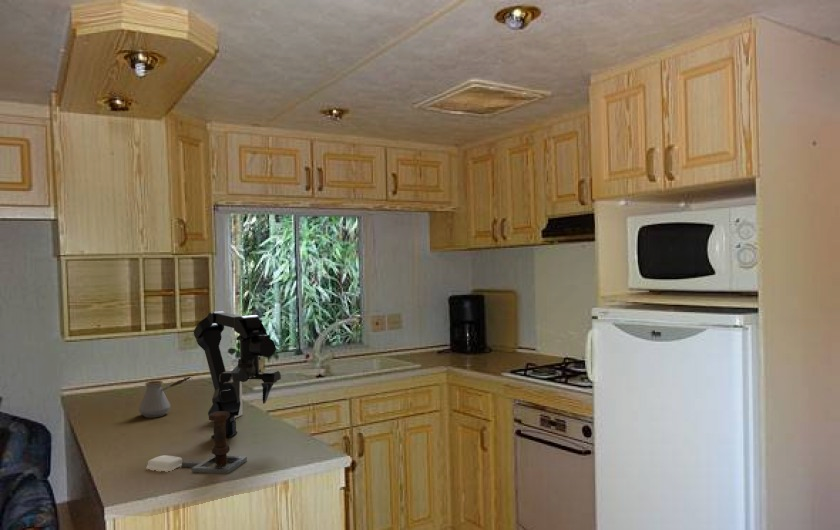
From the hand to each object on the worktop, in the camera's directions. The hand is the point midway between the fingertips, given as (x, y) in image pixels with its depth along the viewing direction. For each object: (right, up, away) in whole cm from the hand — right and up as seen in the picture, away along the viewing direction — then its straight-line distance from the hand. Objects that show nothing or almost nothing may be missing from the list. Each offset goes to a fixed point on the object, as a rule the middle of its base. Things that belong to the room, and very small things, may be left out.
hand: (250, 403), depth 196 cm
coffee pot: (-45, -15, +42) cm, 63 cm away
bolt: (-3, -13, -21) cm, 25 cm away
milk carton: (-18, -14, +36) cm, 43 cm away
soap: (-19, -14, -21) cm, 31 cm away
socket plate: (-5, -13, -21) cm, 26 cm away
